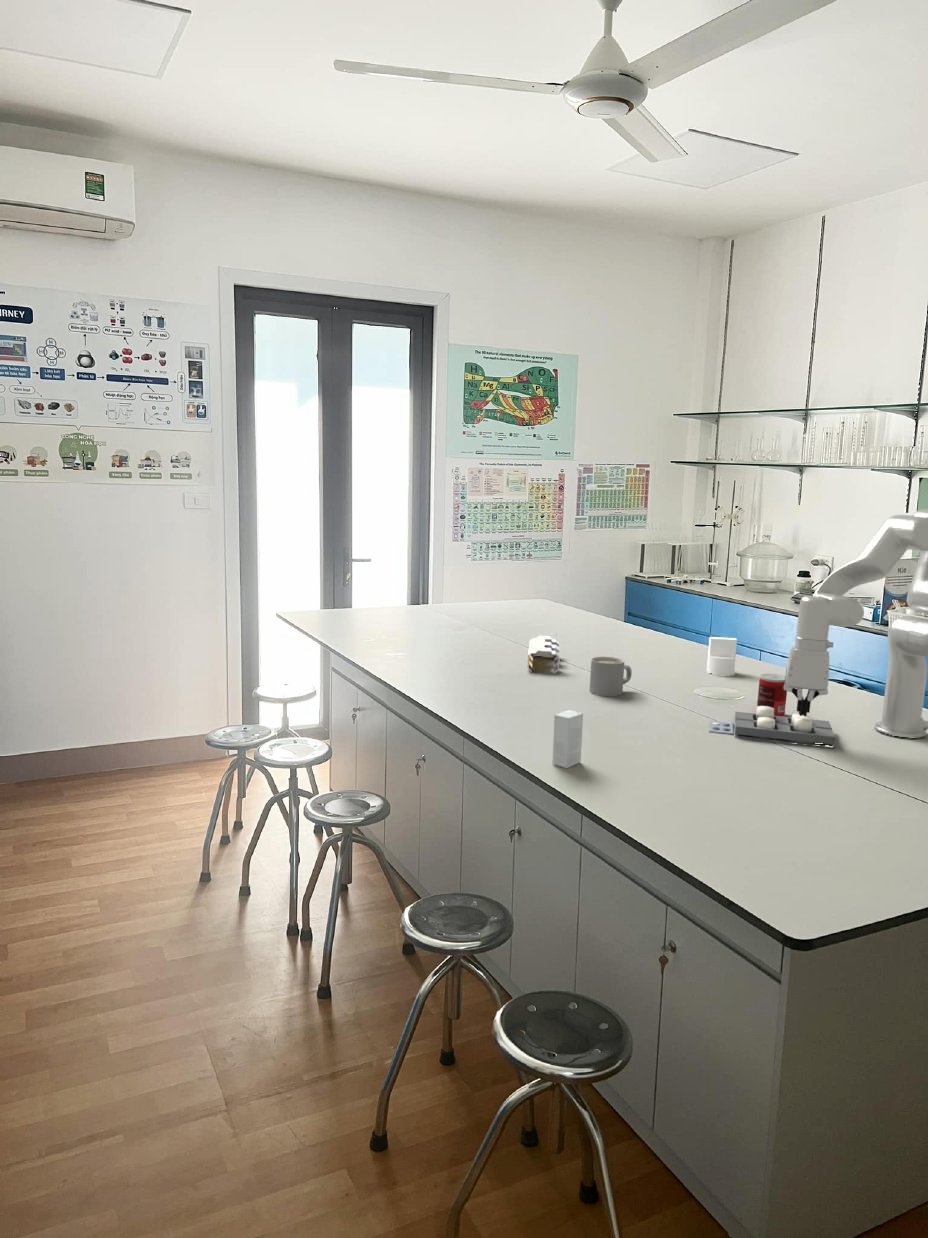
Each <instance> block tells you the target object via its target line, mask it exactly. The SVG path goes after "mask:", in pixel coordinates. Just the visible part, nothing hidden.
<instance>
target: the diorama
mask: <svg viewBox="0 0 928 1238" xmlns="http://www.w3.org/2000/svg"><path fill="white" fill-rule="evenodd" d="M557 636H558V634H557V633H556V634H555V638H553V637H552V636H549V635H548V636H547V635H538V636H537V637H532V639H530V640H529V644H528V645H529V647H528V652H527V653H528V654H527V669H528V670H529V673H532V672H533V663H534V657H535V656H543V657H542V658H553V657H554V658H553V659H554V662H553V667H554V671H553V672H554V673H557V672H558V670H559V669H560V641H558V637H557Z"/></svg>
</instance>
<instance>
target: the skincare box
mask: <svg viewBox="0 0 928 1238" xmlns="http://www.w3.org/2000/svg"><path fill="white" fill-rule="evenodd" d="M553 719H554V722H553V741H552V742H553V744H552V745H553V746H552V747H553V748H552V765H553V764H554V766H557V765H558V766H557V767H560V766H561V767H560V768H564V769H569V768H571V767H573V766H575V765H577V764H580V763H581V760H582V745H583V743H582V741H583V724H584V722H583V721H584V713H583V712H580V711H574V710H570V709H567V710H565V711H561V712H559V713H556V714H554V717H553Z"/></svg>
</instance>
